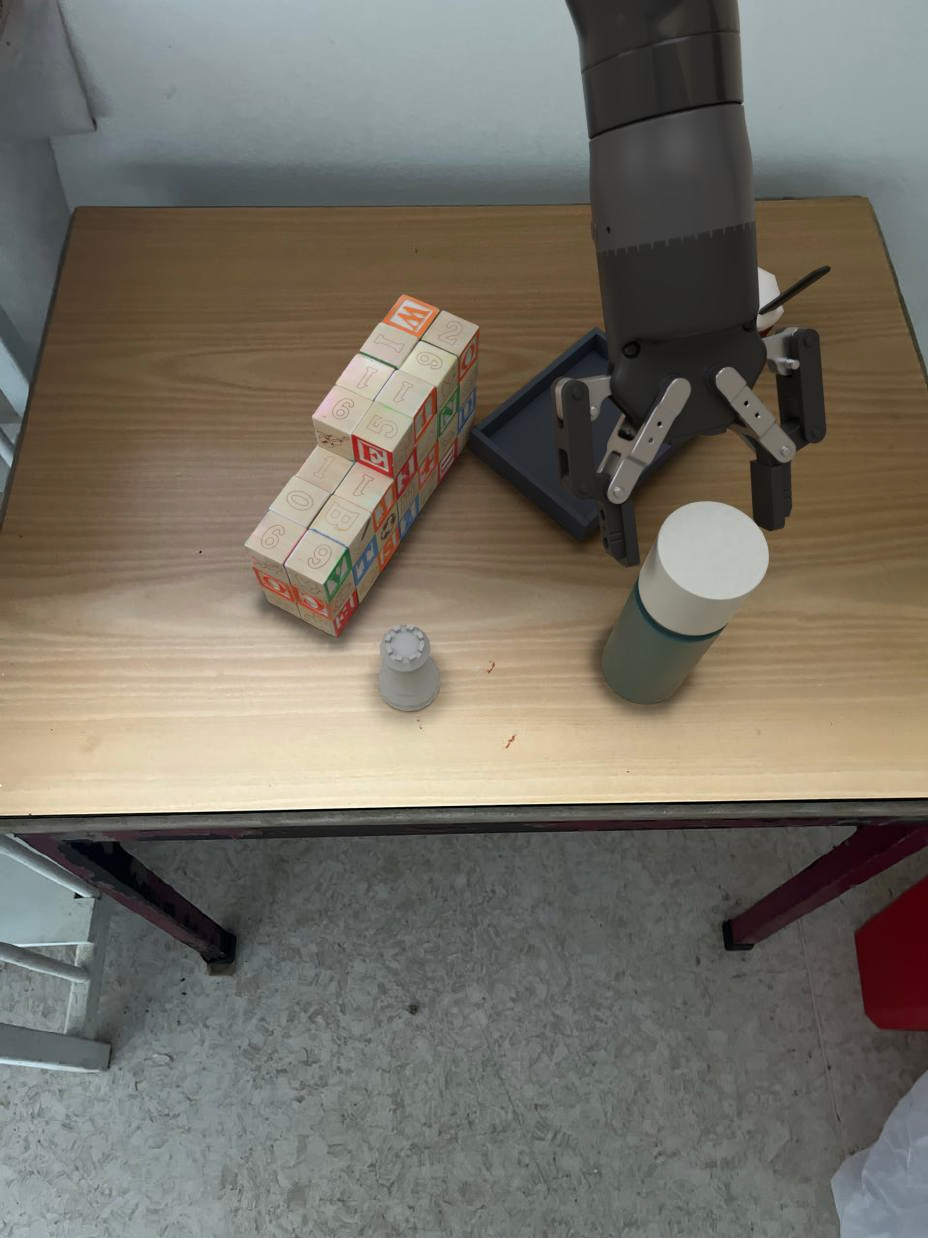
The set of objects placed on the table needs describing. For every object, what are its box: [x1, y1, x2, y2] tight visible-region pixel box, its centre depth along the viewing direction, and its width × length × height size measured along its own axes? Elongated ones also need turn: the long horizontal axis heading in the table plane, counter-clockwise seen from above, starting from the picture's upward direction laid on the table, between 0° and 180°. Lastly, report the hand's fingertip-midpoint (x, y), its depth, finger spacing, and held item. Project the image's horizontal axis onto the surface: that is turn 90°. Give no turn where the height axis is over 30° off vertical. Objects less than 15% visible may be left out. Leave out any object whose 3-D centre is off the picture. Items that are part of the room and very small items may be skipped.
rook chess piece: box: [377, 623, 441, 712], centre depth 57 cm, size 4×4×8 cm
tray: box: [468, 325, 689, 543], centre depth 69 cm, size 15×12×2 cm
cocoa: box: [757, 264, 832, 338], centre depth 69 cm, size 10×6×12 cm, turn 5°
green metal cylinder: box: [600, 572, 730, 705], centre depth 56 cm, size 6×6×13 cm
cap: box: [638, 500, 770, 635], centre depth 48 cm, size 6×6×5 cm
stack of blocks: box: [243, 294, 480, 638], centre depth 61 cm, size 21×6×12 cm, turn 152°
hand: (699, 544), depth 47 cm, fingers open, 8 cm apart
